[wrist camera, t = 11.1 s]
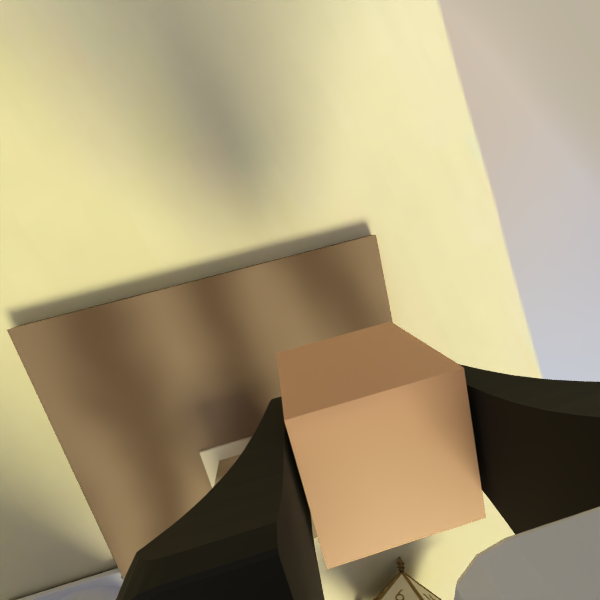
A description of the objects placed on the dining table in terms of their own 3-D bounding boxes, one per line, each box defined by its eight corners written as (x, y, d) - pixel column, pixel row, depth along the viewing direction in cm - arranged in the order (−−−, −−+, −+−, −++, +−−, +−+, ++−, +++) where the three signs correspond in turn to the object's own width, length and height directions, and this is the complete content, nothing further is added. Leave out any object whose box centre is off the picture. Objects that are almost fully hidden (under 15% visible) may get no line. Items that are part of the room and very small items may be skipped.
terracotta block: (304, 455, 13) (327, 569, 8) (276, 352, 12) (284, 420, 7) (410, 423, 13) (485, 517, 8) (390, 321, 12) (463, 367, 8)
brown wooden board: (135, 583, 23) (130, 598, 22) (17, 326, 18) (5, 330, 17) (421, 493, 24) (428, 503, 23) (371, 235, 20) (376, 234, 19)
